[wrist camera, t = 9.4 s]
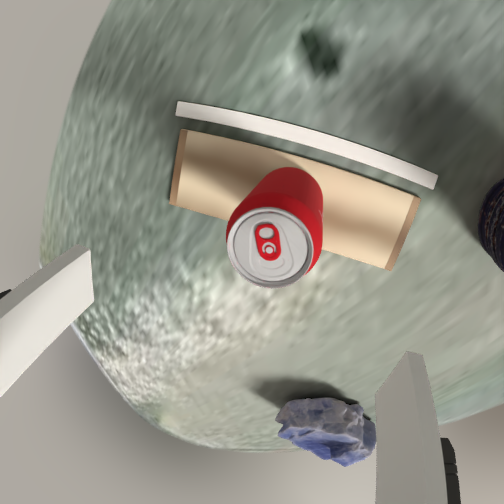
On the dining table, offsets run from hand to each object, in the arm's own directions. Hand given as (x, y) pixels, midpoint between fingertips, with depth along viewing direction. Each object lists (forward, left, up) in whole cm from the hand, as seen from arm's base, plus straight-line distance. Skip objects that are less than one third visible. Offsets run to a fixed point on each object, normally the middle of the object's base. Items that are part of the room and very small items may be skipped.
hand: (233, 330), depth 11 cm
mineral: (+29, +15, -21) cm, 38 cm away
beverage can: (0, 0, -20) cm, 20 cm away
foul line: (-6, 0, -20) cm, 21 cm away
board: (0, 0, -20) cm, 20 cm away
